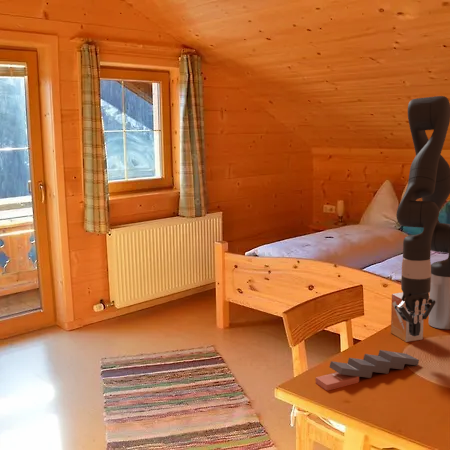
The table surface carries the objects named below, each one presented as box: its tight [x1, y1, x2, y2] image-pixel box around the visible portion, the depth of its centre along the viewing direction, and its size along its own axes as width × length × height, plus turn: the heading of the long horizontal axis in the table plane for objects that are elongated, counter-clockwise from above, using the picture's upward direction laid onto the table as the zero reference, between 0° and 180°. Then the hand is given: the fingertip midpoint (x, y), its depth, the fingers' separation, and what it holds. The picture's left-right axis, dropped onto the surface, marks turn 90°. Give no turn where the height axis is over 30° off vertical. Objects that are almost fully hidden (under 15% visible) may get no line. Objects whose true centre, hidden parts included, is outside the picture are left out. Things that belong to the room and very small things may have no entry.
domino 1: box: [315, 371, 360, 391], centre depth 148 cm, size 2×5×10 cm
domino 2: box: [328, 360, 373, 379], centre depth 150 cm, size 2×5×10 cm
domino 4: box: [362, 353, 406, 371], centre depth 155 cm, size 2×5×10 cm
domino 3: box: [347, 357, 391, 375], centre depth 152 cm, size 2×5×10 cm
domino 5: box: [377, 349, 420, 367], centre depth 157 cm, size 2×5×10 cm
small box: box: [390, 291, 424, 343], centre depth 177 cm, size 8×6×13 cm
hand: (414, 335), depth 158 cm, fingers closed
